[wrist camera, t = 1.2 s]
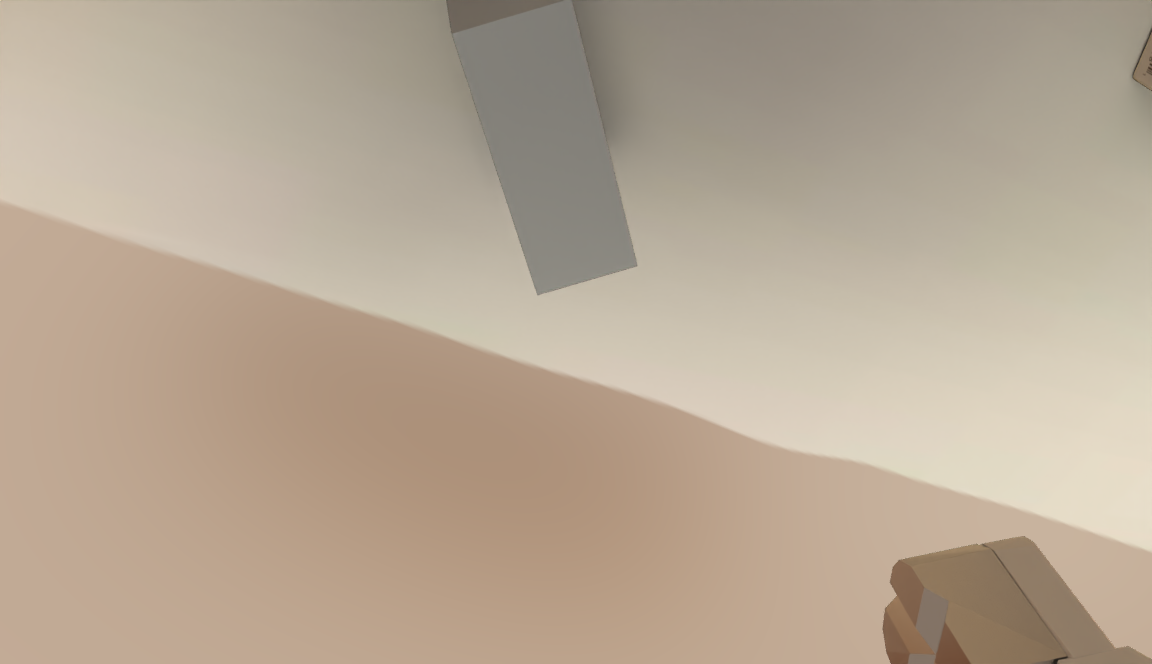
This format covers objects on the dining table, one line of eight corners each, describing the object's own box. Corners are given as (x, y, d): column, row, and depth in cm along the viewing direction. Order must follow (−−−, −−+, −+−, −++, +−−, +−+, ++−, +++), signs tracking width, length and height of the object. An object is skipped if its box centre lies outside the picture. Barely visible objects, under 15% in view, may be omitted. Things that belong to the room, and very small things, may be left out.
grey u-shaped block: (534, -83, 30) (571, -2, 24) (593, 150, 35) (637, 265, 29) (438, -54, 30) (451, 33, 24) (511, 175, 35) (537, 295, 29)
